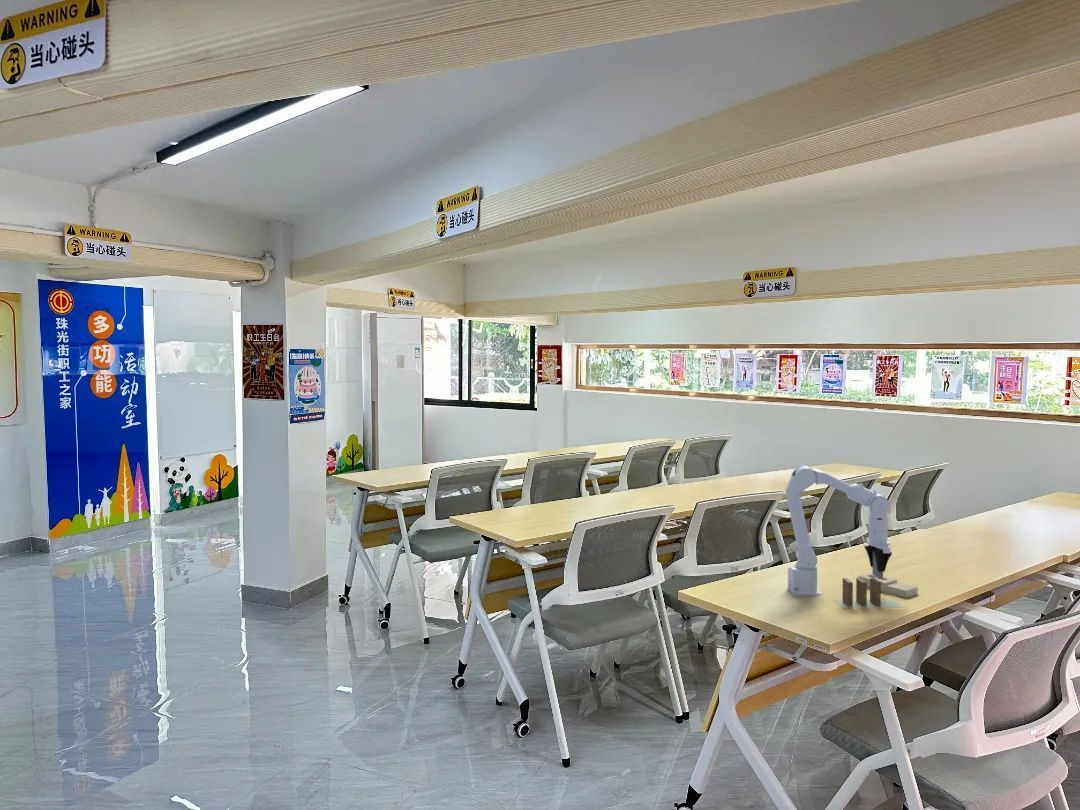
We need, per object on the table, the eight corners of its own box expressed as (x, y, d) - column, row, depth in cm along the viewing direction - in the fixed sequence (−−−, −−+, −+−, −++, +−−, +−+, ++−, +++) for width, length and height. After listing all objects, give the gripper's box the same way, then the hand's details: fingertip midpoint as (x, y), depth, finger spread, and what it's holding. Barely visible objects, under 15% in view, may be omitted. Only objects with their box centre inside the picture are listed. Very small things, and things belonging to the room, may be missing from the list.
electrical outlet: (905, 587, 247) (857, 575, 262) (905, 599, 247) (857, 586, 262) (917, 584, 251) (869, 572, 266) (917, 595, 251) (869, 583, 266)
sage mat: (841, 608, 238) (841, 607, 238) (833, 601, 245) (833, 600, 245) (904, 607, 238) (904, 607, 238) (894, 601, 245) (894, 600, 245)
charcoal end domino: (878, 578, 247) (878, 554, 247) (872, 574, 252) (872, 551, 252) (882, 578, 247) (883, 554, 247) (876, 574, 252) (876, 551, 252)
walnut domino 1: (848, 606, 239) (848, 582, 238) (842, 601, 244) (842, 578, 243) (852, 606, 239) (852, 582, 238) (846, 601, 244) (846, 578, 243)
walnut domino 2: (862, 606, 239) (862, 582, 238) (856, 601, 244) (856, 578, 243) (866, 606, 239) (866, 582, 238) (860, 601, 244) (860, 578, 243)
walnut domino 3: (876, 606, 238) (876, 582, 238) (869, 601, 243) (870, 578, 243) (880, 606, 238) (880, 582, 238) (874, 601, 243) (874, 578, 243)
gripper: (899, 534, 241) (899, 575, 242) (880, 525, 256) (880, 563, 256) (878, 534, 241) (877, 575, 242) (860, 525, 256) (860, 563, 257)
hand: (877, 569), depth 249 cm, fingers closed on charcoal end domino, 5 cm apart
